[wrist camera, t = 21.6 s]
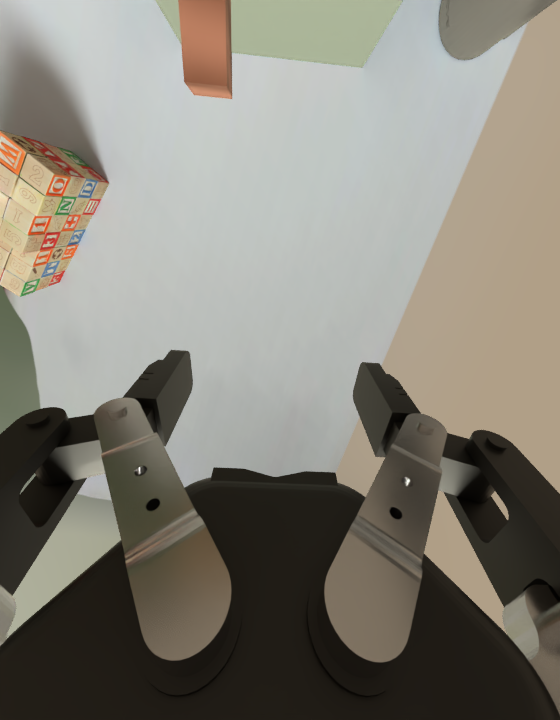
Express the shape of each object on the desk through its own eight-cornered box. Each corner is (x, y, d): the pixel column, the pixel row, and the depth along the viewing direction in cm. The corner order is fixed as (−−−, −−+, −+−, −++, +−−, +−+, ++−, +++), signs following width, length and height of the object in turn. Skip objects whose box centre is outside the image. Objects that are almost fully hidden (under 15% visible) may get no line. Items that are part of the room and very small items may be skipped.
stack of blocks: (61, 283, 50) (2, 303, 39) (25, 260, 48) (-47, 274, 37) (110, 182, 42) (53, 173, 31) (70, 149, 40) (-5, 127, 29)
